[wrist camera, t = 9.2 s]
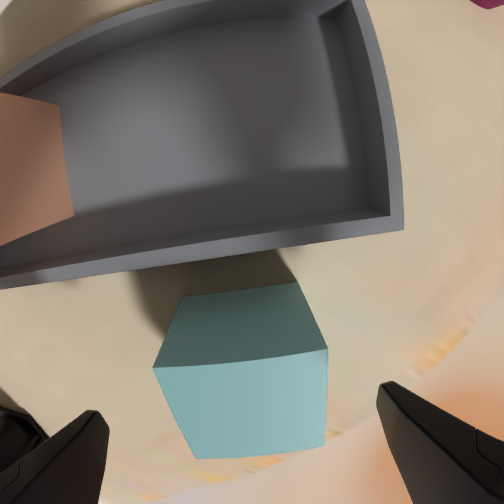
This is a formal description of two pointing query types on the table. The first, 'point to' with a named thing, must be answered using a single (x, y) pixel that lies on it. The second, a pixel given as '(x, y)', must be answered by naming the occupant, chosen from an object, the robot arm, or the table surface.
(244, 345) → the teal block
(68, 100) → the tray
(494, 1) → the cup
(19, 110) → the terracotta block
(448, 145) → the table surface
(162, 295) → the table surface
